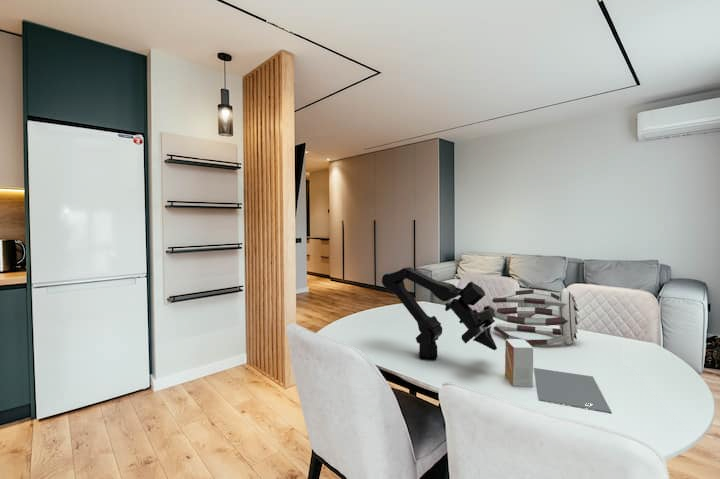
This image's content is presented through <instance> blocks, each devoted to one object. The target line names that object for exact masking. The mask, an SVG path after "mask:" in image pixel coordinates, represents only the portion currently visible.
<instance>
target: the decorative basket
mask: <svg viewBox="0 0 720 479" xmlns="http://www.w3.org/2000/svg"><path fill="white" fill-rule="evenodd" d="M531 294H535V295H540V296H545V297H550V298H553V299H545V298H535V297H534V298H533V297H532V298H531V297H515V296H523V295H531ZM554 299H555V300H554ZM575 299H576V297H575V296H574V295H573V294H572V293H571V291H570V290H569V289H568V288H567V287H565V288H563V289H561V291H560V294H559V295H557V294H556V293H553V292H550V291H544V290H539V289H524V290H515V291H511V292H508V293H505V294H502V295H499V296H496V297H494V298H492V299H491V301H492V302H493V303H495V304H496V303H498V304H500V303H502V304H503V303H513V304H514V303H517V304H519V303H520V304H522V303H523V304H532V305H533V304H534V305H545V306H555V307H558V310H556V309H554V308H545V307H544V308H543V307H537V306H532V307H531V306H514V307H513V306H512V307H499V308H496V310H495V312H494V313H495V316H496V317H493V319H494V318H495V319H497V320H500V321H503V322H506V323H500V322H497V323H496V325H495V326H494V327H493V330H494V331H496V332H497V333H498V334H500V335H502V336H503V337H505V339H522V338H521V337H517V336H513V335H511V334H508V333H507V332H505V330H506V331H516V332H525V333H535V334H545V335H555V337H551V338H548V339H545V338H543V339H525V338H523V339H524V340H525V341H526V342H528V343H529V344H530V345H531V346H538V345H539V346H542V345H544V346H545V345H546V346H547V345H548V346H549V345H552V344H555V343H560V342H563V341H564V343H566V345H571V344H572V343H573V345H574V344H576V341H575V339H576V340H577V334H578V329H577V325H579V323H578V320H577V319H580V316H579V315H578V313H577V312H579V309H578V304H577V303H576V300H575ZM515 314H529V315H532V314H534V315H535V314H536V315H543V316H549V317H548V318H546V317H545V318H544V317H543V318H542V317H523V316H522V317H521V316H516V315H515ZM510 323H511V324H510ZM558 325H559V328H552V327H549V326H558ZM545 326H546V327H545Z"/></svg>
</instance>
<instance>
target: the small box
mask: <svg viewBox="0 0 720 479" xmlns="http://www.w3.org/2000/svg"><path fill="white" fill-rule="evenodd" d="M524 339H525V338H521V339H507V338H505V351H504V352H505V354H504V358H505V360H504V362H505V363H504V368H505V369H504V376H505V377H506V378H507V380H508V381H509V382H510V384H511V385H512V386H513V387H519V386H524V387H523V388H526V387H527V388H529V387H531V388H533V386H534V385H533V383H534V382H533V381H534V347H533V345H530V344H529V343H528V342H526V341H525V340H526V339H525V340H524Z"/></svg>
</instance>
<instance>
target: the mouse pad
mask: <svg viewBox="0 0 720 479" xmlns="http://www.w3.org/2000/svg"><path fill="white" fill-rule="evenodd" d="M533 374H534V378H535V384H536V385H535V386H536V392H537V399H539V400H541V402H545V401H547V403H550V402H554V403H553V404H556V403H560V404H559V405H562V404H565V405H564V406H567V405H571V406H570V407H573V406H575V407H574V408H578V407H582V408H581V409H584V408H588V409H587V410H590V409H594V410H593V411H595V410H598V411H597V412H601V411H603V412H602V413H607V412H610V413H609V414H612V411H611V409H610V407H609V405H608V403H607V401H606V399H605V397H604V395H603V393H602V391H601V389H600V387H599V385H598V383H597V382H596V380H595V377H594V376H593V375H592V376H591V375H584V374H579V373H578V374H577V373H572V372H563V371H557V370H550V369H544V368H537V367H533ZM539 400H538V401H539ZM586 403H587V404H586ZM588 403H589V404H588ZM590 403H591V404H593V405H592V406H590ZM585 404H586V405H589V406H590V407H589V406H585Z"/></svg>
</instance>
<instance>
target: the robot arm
mask: <svg viewBox="0 0 720 479" xmlns="http://www.w3.org/2000/svg"><path fill="white" fill-rule="evenodd" d="M406 279H407V280H409V281H411V282H412V283H415V284H417V285H418V286H421V287H423V288H425V289H427V290H429V291H430V292H431V293H432V295H433V296H434V297H436V298H437V299H438V300H440V301H441V302H447V301H450V300H451V301H450V302H447V303H445V308H444V310H445V312H448V311H450V310H451V311H452V312H453V314H455V315H456V316H457V318H458V319H459V321H458V322H459V324H463V325H464V326H465V328H466V329H467V330H466V331H465V332H464V333H462V335H461V341H463V343H465V344H467V343H468V342H469V341H470V340H472V341H473V342H474V341H475V342H477V343H479V344H481V345H483V346H484V347H487V348H489V349H491V350H493V351H496V350H497V349H498V347H497V344H496V342H495V341H494V339H493V336H492V334H491V328H492V326H491V325H492V324H494V323H495V322H496V320H495V319H494V317H496V316H495V313H494V312H496V310H495V309H494V308H493V307H492V306H490V305H485V306H484V307H483V310H480V311H478V310H477V309H472V307H471V306H475V305H476V304H477V303H478V302H479V301H481V300H482V299H483V298H484V297H485V296H486V293H485V291H484V289H483V287H481V286H479V285H478V284H476V283H474V282H473V281H472V280H471V281H469V282H467V284H466V286H464V287H463V288H460V287H457V286H456V285H454V284H452V283H450V282H446V281H440V280H437V279H434V278H432V277H430V276H428V275H426V274H423V272H419V271H417V270H415V269H413V268H412V267H410V266H408V267H403V268H401V269H400V270H397V271H394V272H389V273H385V274H383V275H382V277H381V284H382V286H383V287H384V288H385V289H387V290H388V292H391V293H392V294H394V295H395V296H396V297H397V298H398V299H399V300H400V302H401V303H402V304H403V306H404V307H405V309H406V310H407V311H408V312H409V314H410V316H412V318H413V319H414V320H415V322H416V323H417V327H418V331H419V334H418V335H417V336H416V337H415V340H416V341H415V342H416V343H417V344H418V345H419V346H418V347H419V349H418V350H419V352H418V358H419V360H426V361H427V360H430V361H436V360H437V358H438V344H437V342H436V341H437V340H439V337H441V336H442V334H443V326H442V323H441V322H440V321H439V320H438V318H437V317H436V316H435V315H433V316H429V315H428V314H427V313H426V311H424V309H423V308H422V307H421V306H420V304H419V303H418V302H417V300H415V298H414V297H413V295H412V294H411V293H410V292H409V291H408V289H407V287H406V286H405V281H404V280H406ZM459 296H460V297H459ZM457 297H458V298H457Z"/></svg>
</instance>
